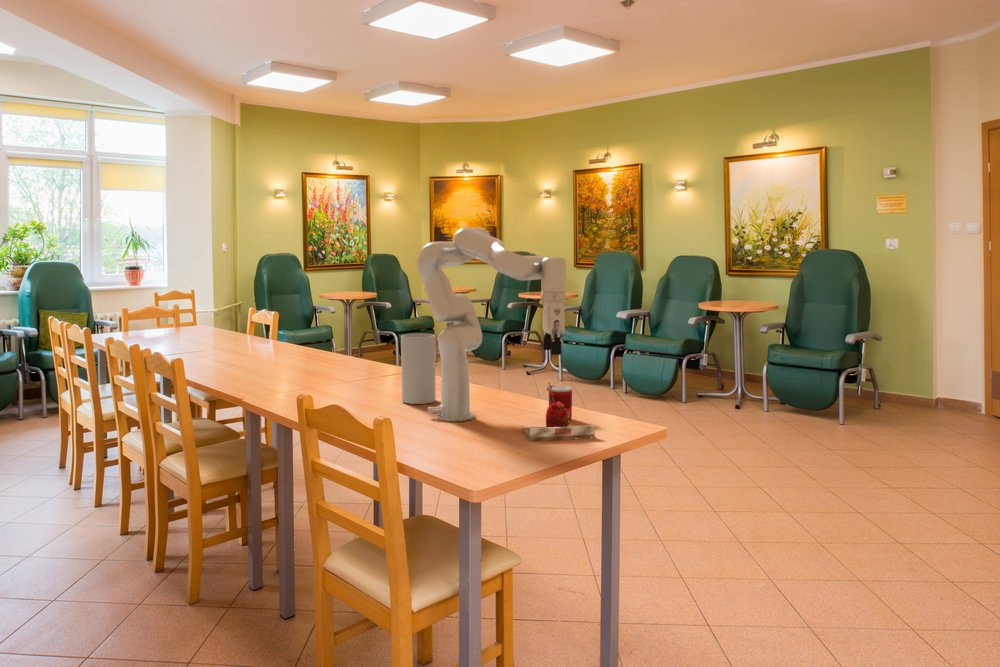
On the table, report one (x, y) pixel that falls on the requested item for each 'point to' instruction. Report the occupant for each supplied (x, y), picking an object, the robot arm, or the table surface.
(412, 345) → the cylinder vase
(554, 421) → the red clay folk toy
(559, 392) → the canned food
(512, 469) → the table surface
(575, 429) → the shelf board
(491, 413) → the table surface
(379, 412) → the table surface
